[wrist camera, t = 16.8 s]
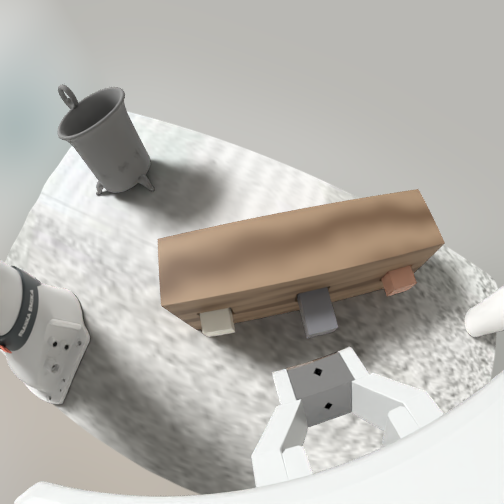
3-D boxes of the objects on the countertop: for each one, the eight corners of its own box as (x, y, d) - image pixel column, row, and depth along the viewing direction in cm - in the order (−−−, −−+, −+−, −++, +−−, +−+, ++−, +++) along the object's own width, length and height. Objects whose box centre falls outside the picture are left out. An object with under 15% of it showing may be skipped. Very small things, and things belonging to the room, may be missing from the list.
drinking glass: (491, 322, 36) (546, 296, 22) (473, 350, 34) (533, 330, 21) (472, 296, 38) (524, 262, 25) (453, 322, 37) (510, 294, 23)
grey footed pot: (178, 165, 55) (137, 62, 33) (130, 219, 51) (60, 124, 28) (126, 142, 61) (85, 61, 39) (84, 186, 56) (27, 110, 34)
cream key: (235, 332, 35) (231, 328, 32) (208, 336, 35) (202, 333, 32) (228, 291, 37) (224, 284, 35) (202, 296, 37) (196, 289, 35)
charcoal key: (333, 331, 34) (338, 327, 31) (306, 338, 34) (309, 334, 31) (322, 291, 36) (326, 283, 33) (296, 297, 36) (298, 290, 33)
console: (403, 282, 41) (444, 243, 28) (196, 329, 41) (161, 305, 28) (387, 239, 44) (418, 189, 32) (190, 280, 44) (157, 239, 32)
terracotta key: (407, 290, 35) (416, 282, 32) (386, 296, 35) (394, 289, 32) (395, 254, 37) (402, 245, 35) (374, 259, 37) (380, 250, 35)
